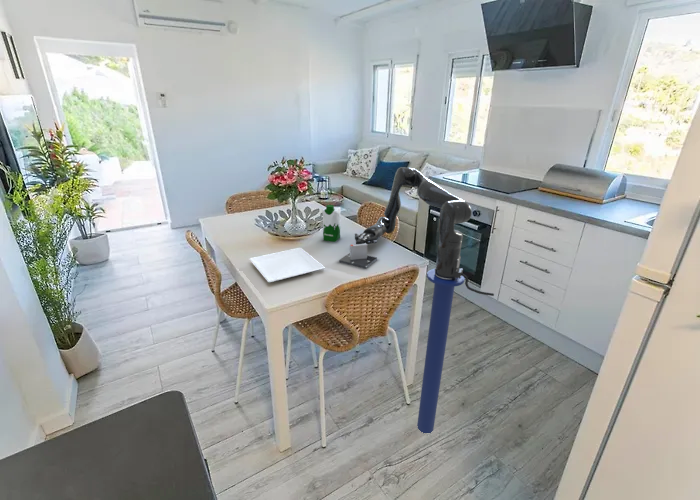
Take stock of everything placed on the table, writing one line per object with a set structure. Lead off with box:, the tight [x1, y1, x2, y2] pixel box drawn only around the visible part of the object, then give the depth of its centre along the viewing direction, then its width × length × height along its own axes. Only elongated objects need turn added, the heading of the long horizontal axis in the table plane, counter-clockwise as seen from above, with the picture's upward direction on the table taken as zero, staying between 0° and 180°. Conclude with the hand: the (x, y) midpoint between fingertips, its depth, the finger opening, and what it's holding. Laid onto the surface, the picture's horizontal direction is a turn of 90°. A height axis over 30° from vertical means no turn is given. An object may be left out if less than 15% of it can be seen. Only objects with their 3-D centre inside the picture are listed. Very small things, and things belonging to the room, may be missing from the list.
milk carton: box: [321, 204, 342, 243], centre depth 187 cm, size 9×9×20 cm
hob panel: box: [338, 252, 378, 270], centre depth 164 cm, size 14×12×2 cm
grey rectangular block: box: [349, 243, 368, 260], centre depth 163 cm, size 8×2×7 cm, turn 105°
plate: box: [248, 247, 326, 283], centre depth 157 cm, size 26×26×2 cm
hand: (357, 243), depth 167 cm, fingers closed
